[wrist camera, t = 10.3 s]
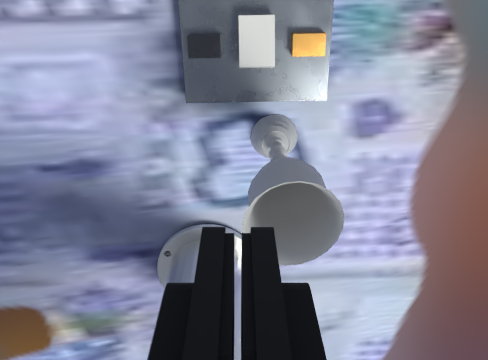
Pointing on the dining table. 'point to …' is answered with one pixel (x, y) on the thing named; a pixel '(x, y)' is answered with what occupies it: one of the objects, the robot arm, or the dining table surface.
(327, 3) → the panel
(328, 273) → the dining table surface
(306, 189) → the chalice
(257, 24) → the block
